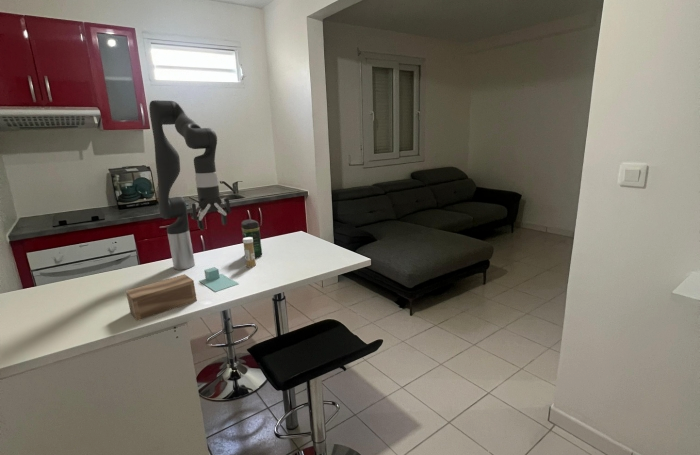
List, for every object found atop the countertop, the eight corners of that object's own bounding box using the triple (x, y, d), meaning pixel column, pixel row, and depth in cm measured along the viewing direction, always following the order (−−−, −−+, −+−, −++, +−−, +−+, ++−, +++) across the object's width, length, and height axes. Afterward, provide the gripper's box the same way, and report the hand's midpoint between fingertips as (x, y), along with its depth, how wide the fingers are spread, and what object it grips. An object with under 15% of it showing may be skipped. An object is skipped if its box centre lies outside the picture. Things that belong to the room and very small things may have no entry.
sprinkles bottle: (257, 265, 166) (254, 238, 162) (247, 268, 164) (244, 240, 160) (254, 263, 170) (250, 236, 166) (244, 265, 167) (241, 238, 164)
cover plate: (199, 282, 151) (197, 271, 150) (221, 275, 158) (220, 265, 156) (215, 293, 140) (213, 282, 138) (239, 285, 146) (237, 274, 145)
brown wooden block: (130, 312, 126) (125, 290, 124) (188, 293, 139) (184, 274, 137) (137, 320, 120) (132, 298, 118) (196, 300, 133) (193, 280, 131)
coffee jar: (264, 256, 178) (260, 220, 174) (248, 259, 174) (244, 223, 170) (258, 251, 186) (254, 217, 182) (243, 254, 182) (238, 219, 178)
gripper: (221, 181, 137) (226, 222, 142) (183, 186, 128) (190, 229, 132) (230, 183, 132) (235, 225, 136) (191, 188, 123) (198, 233, 127)
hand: (213, 227), depth 134 cm, fingers open, 8 cm apart
